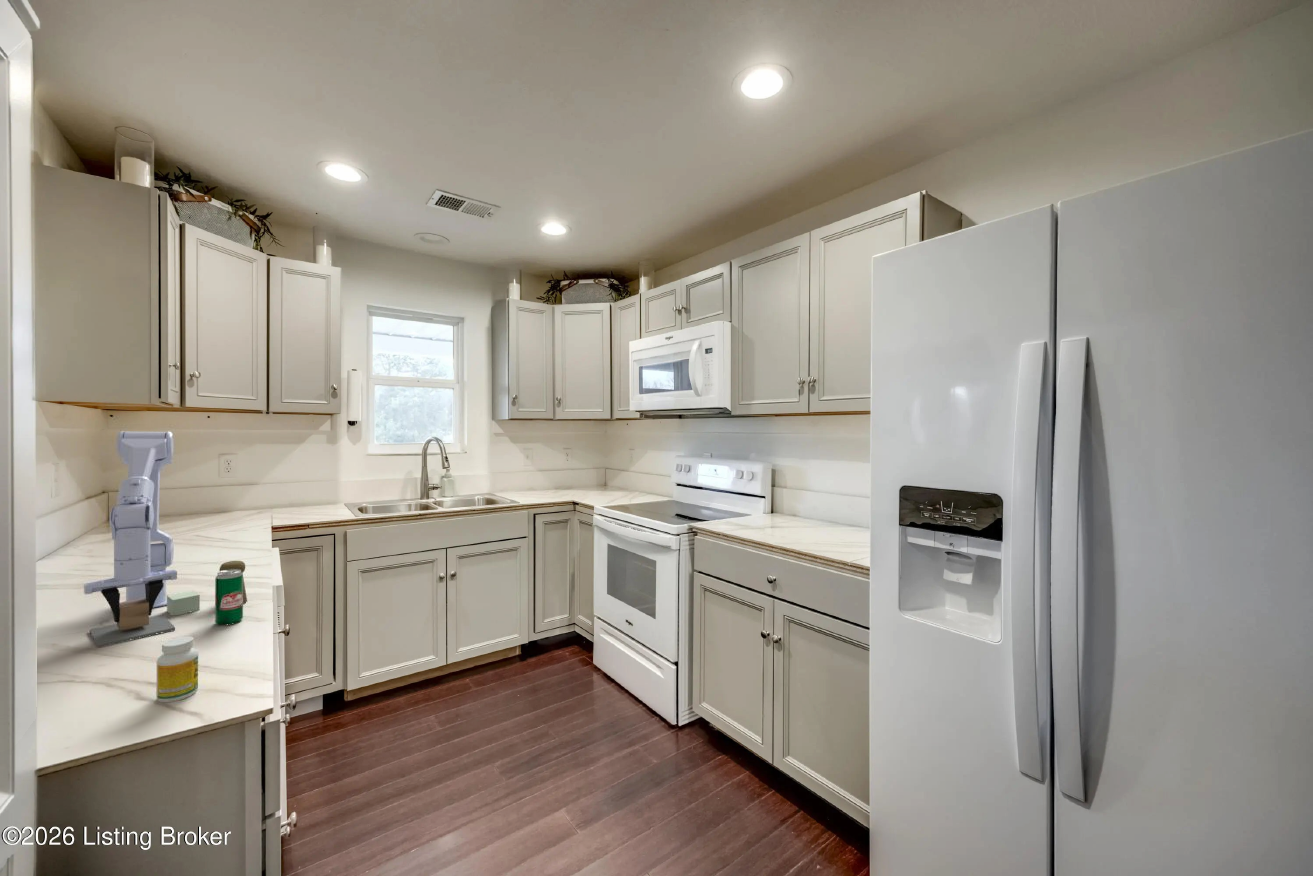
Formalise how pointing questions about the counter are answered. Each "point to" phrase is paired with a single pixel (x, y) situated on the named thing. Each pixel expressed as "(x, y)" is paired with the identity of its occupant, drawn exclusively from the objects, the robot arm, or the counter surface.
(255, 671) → the counter surface
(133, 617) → the walnut block
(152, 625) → the mat
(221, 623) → the soda can
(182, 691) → the supplement bottle
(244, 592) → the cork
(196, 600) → the sage block
